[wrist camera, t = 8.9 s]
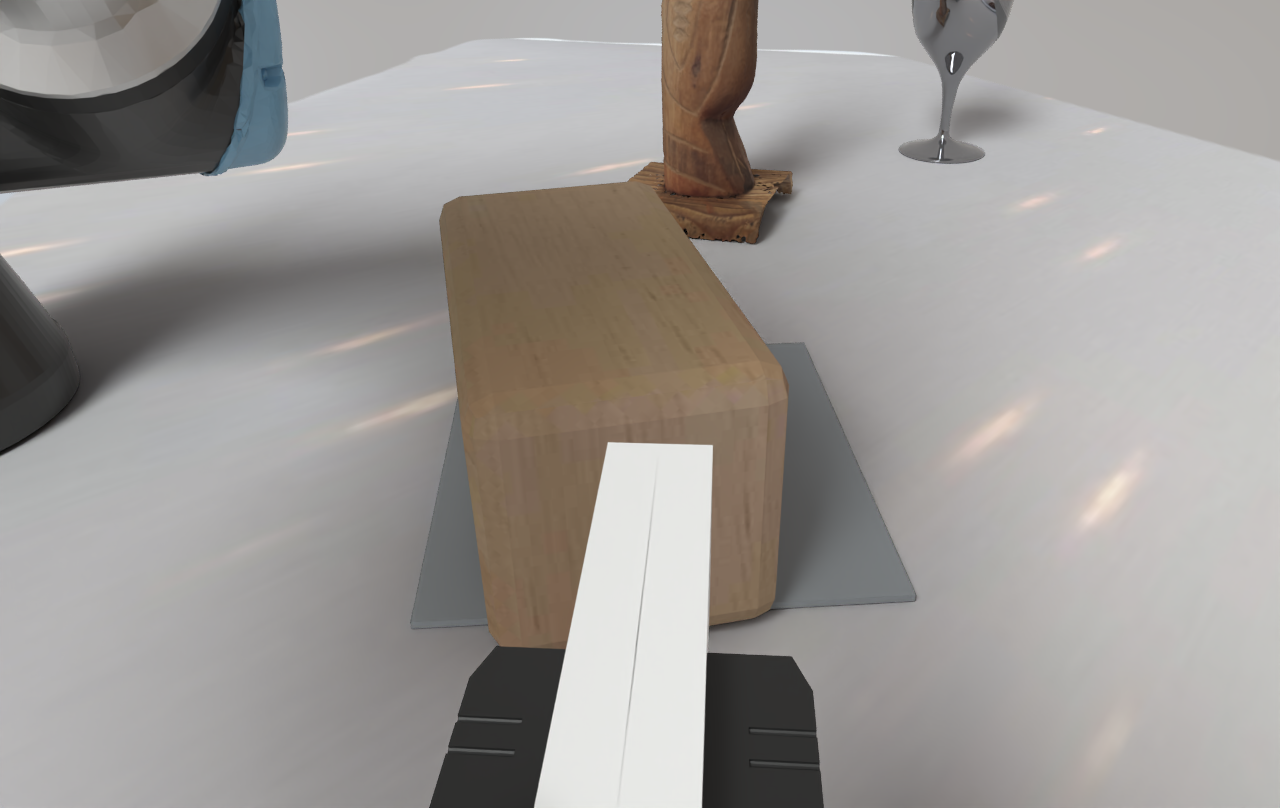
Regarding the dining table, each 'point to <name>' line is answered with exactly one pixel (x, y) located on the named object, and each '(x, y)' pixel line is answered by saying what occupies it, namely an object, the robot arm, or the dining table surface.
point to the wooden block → (601, 391)
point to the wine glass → (954, 62)
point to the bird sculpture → (709, 121)
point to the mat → (809, 526)
